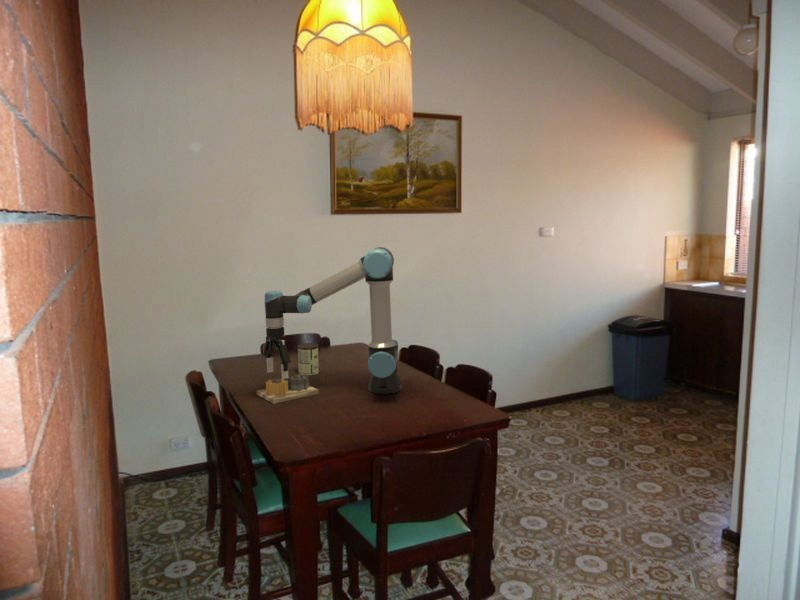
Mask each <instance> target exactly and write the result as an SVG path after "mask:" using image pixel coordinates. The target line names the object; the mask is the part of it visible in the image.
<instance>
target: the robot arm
mask: <svg viewBox="0 0 800 600" xmlns="http://www.w3.org/2000/svg"><path fill="white" fill-rule="evenodd" d="M394 261H395V259H394V256H393V253H392V252H391V251H390V250H389V249H387V248H386V247H382V246H381V247H379V246H377V247H375V248H373V249H371V250H369V251H368V252H367V253H366V254H365V255H364V256H363V257H360V258H359V261H358V262H356V263H353V264H351V265H350V266H348V267H346V268H344V269H342V270H340V271H339V272H337V273H335V274H332V275H330V276H329V277H327V278H325V279H323V280H321V281H319V282H317V283H315V284H313V285H311V286H309V287H308V288H306V289H303V290H301V291H299V292H298V293H297V294H295V295H284V294H283V292H282V291H281V290H268V291H266V292H265V293H264V313H265V327H266V331H265V333H266V335H265V345H264V349H263V356H265V358H266V372H267V373H273V372H274V371H275V370H274V355H273V354H274V351H276V352H277V354H278V356H279V358H280V361H281V363H280V369H281V379H285V380H286V379H287V378H289V363H291V362H292V361H291V357H290V354H289V351H288V347H287V341H286V339H283V338H282V337H284V336H285V327H284V325H285V323H284V320H285V318H284V314H302V315H303V314H309V313H310V312H311V311H312V306H313V305H315V304H317V303H318V302H320V301H323V300H325V299H327V298H328V297H330V296H333V295H334V294H337V293H339V292H340V291H342V290H344V289H346V288H348V287H351V286H352V285H354V284H356V283H358V282H360V281H362V280H364V279H365V281H364V282H365V283H366V284H368V285H369V309H370V311H369V312H370V329H371V331H370V332H371V335H370V336H371V341H370V342H369V343H368V360H367V367H368V370H369V372H370V373H371V376H370V379H369V382H368V391H369V392H371V393H373V394H377V393H378V395H391V394H390V393H393V394H397V393H400V392H401V391H402V390H403V385H402V380H401V378H400V374H399V343H398V341H397V339H393V337H392V332H393V331H392V312H391V311H392V309H391V307H392V306H391V284H392V282H394V264H395V263H394ZM401 389H402V390H401ZM399 391H400V392H399ZM396 392H397V393H396Z"/></svg>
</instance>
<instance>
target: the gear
mask: <svg viewBox="0 0 800 600" xmlns="http://www.w3.org/2000/svg"><path fill="white" fill-rule="evenodd" d="M274 379H275V378H273V379H268V380H267V381H265V389H266V394H268V393H269V395H277V396H279V395H281V394H286V392H288V380H286V379H282V378H279V383H274Z"/></svg>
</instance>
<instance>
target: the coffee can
mask: <svg viewBox="0 0 800 600" xmlns="http://www.w3.org/2000/svg"><path fill="white" fill-rule="evenodd" d="M297 361H298V362H297V363H298V365H297V366H298V374H300V375H305V376H314V375H317V374H319V372H320V371H319V369H320V368H319V367H320V366H319V365H320V364H319V363H320V362H319V344H318V343H315V342H304V343H300V344H298V345H297Z"/></svg>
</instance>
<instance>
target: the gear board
mask: <svg viewBox="0 0 800 600" xmlns="http://www.w3.org/2000/svg"><path fill="white" fill-rule="evenodd" d="M309 378H310V375H300V374H299V373H298V374H297V373H296V374H294V375H288V378H286V379H287V380H288V392H286V394H281V395H279V396H277V395H269V393H268V394H266V388H262V389H258V390H256V395H257V396H258V397H261V398H262V399H264V400H266V401H268V402H270V403H272V404H273V405H275V404H278V403H283V402H288V401H292V400H296V399H297V400H298V399H301V398H306V397H312V396H315V395H319V394H320V391H319V388H316V387H313V386H311V385H310V379H309ZM273 379H274V383H279V379H280V378H273Z"/></svg>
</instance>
